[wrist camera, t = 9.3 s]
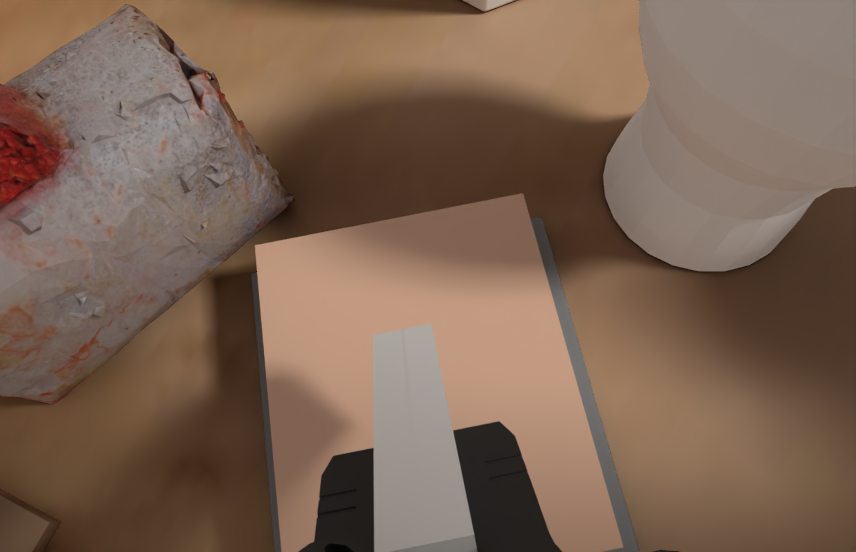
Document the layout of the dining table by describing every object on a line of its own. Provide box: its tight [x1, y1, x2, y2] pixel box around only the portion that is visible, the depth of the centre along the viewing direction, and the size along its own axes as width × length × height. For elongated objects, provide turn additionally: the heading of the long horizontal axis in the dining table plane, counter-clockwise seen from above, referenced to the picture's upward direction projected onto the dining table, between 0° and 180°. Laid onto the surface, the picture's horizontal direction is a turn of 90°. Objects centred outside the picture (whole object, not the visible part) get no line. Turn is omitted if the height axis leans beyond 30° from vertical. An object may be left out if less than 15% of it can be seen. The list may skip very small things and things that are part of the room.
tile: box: [255, 193, 623, 552], centre depth 20 cm, size 2×10×12 cm
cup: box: [603, 0, 856, 271], centre depth 17 cm, size 11×11×15 cm
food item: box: [0, 4, 295, 404], centre depth 20 cm, size 14×8×10 cm, turn 135°
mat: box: [251, 217, 640, 552], centre depth 21 cm, size 16×12×1 cm
